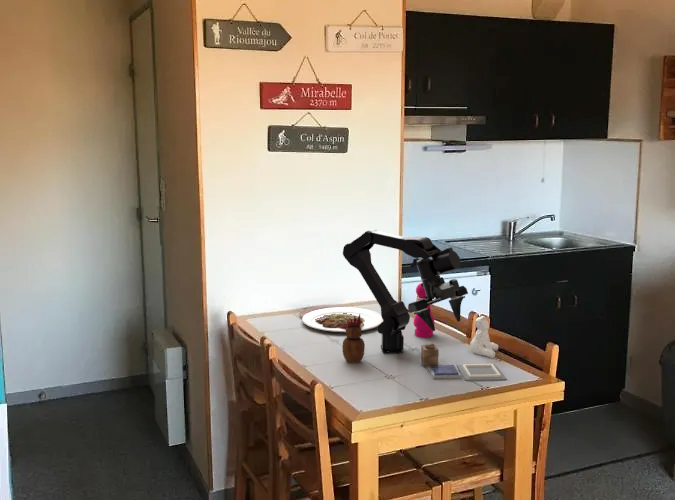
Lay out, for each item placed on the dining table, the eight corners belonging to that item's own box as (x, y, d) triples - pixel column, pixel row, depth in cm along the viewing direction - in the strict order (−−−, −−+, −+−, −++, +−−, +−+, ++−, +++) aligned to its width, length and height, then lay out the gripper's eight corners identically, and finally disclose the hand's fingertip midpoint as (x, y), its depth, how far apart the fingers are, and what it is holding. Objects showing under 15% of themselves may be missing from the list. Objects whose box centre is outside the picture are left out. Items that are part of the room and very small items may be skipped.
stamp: (423, 367, 217) (423, 346, 216) (420, 362, 221) (421, 341, 220) (438, 366, 217) (438, 346, 216) (435, 361, 221) (435, 341, 220)
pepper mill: (410, 336, 246) (411, 279, 242) (416, 330, 252) (417, 275, 248) (431, 339, 243) (432, 281, 239) (436, 333, 250) (438, 277, 246)
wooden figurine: (366, 359, 224) (367, 312, 221) (361, 365, 218) (361, 318, 215) (346, 356, 226) (346, 310, 223) (340, 362, 220) (340, 315, 218)
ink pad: (433, 378, 207) (433, 374, 207) (428, 368, 215) (428, 364, 215) (460, 378, 208) (460, 373, 207) (454, 368, 216) (455, 364, 215)
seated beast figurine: (494, 358, 224) (496, 322, 222) (466, 355, 227) (468, 319, 225) (498, 349, 233) (500, 313, 230) (472, 346, 236) (473, 311, 233)
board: (465, 380, 206) (465, 377, 206) (456, 366, 218) (456, 362, 217) (506, 380, 206) (506, 376, 206) (495, 365, 218) (495, 362, 218)
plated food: (334, 307, 283) (334, 299, 282) (399, 320, 266) (399, 311, 265) (285, 326, 259) (285, 317, 258) (353, 341, 242) (353, 331, 241)
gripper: (417, 282, 208) (434, 334, 207) (469, 265, 215) (485, 314, 214) (400, 287, 218) (416, 336, 217) (450, 270, 225) (466, 317, 225)
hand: (446, 326), depth 218 cm, fingers open, 9 cm apart
